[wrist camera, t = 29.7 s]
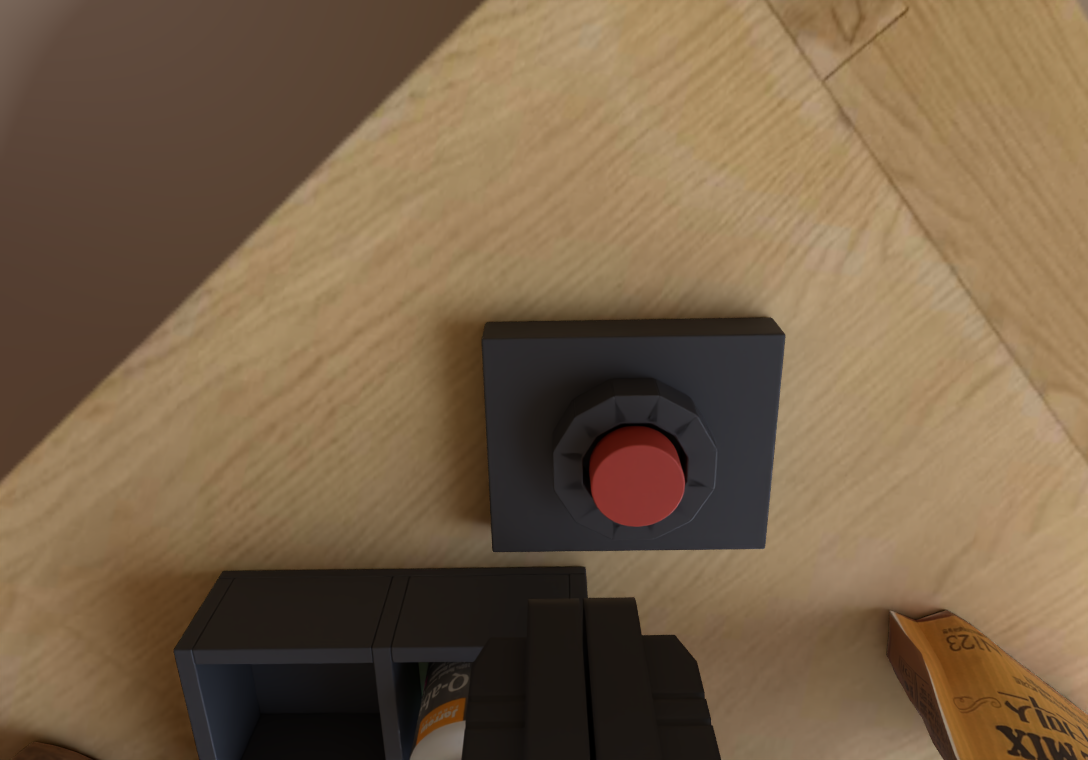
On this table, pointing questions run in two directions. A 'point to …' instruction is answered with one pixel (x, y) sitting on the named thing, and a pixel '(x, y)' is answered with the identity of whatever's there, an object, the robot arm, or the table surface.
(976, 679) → the pancake mix bag
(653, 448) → the button
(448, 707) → the pill bottle
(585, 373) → the block
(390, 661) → the black divided tray
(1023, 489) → the table surface
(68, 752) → the bread
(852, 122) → the table surface
